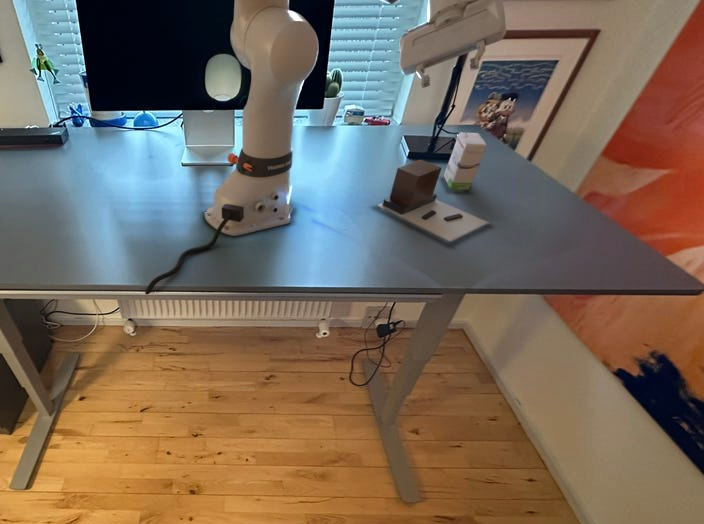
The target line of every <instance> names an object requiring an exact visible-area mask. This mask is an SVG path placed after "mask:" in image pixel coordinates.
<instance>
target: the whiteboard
mask: <svg viewBox="0 0 704 524" xmlns="http://www.w3.org/2000/svg"><path fill="white" fill-rule="evenodd" d="M376 206H377V207H379V208H381V209H382V210H385V211H387V212H388V213H391V214H393V215H395V216H397V217H399V218H401V219H403V220H404V221H407V222H408V223H411V224H413V225H415V226H416V227H419V228H421V229H423V230H425V231H427V232H429V233H431V234H434V235H435V236H437V237H439V238H442V239H444V240H445V241H447V242H449V243H451V242H454V241H455V240H457V239H460V238H461V237H463V236H466V235H468V234H470V233H472V232H474V231H475V230H478V229H480V228H482V227H484V226H486V225H488V224H490V222H489V221H488V220H485V219H483V218H481V217H478V216H476V215H473V214H471V213H469V212H467V211H465V210H462V209H460V208H458V207H455V206H453V205H451V204H448V203H446V202H444V201H442V200H440V199H437V198H436V200H435V201H433V202H431V203H429V204H426V205H424V206H422V207H419V208H417V209H415V210H412V211H410V212H407V213H405V214H403V215H401V214H399V213H397V212H395V211H393V210H391V209H389V208H387V207H385V206H383V202H381V203H378V204H376ZM431 210H433V211H436V214H435V215H433V216H431V217H430V218H428V219H427V220H424V219H422V216H423V215H425V214H427V213H428V212H430V211H431ZM455 214H461V215H463V217H462V218H459V219H455V220H451V221H446V220H444V217H448V216H451V215H455Z"/></svg>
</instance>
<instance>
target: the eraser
mask: <svg viewBox="0 0 704 524" xmlns="http://www.w3.org/2000/svg"><path fill="white" fill-rule="evenodd" d="M442 168H443V167H441V166H439V165H436V164H433V163H431V162H429V161H426V160H423V159H419V160H415V161H413V162H410V163H408V164H405V165H402V166H399V167H397V168H396V173H395V177H394V180H393V184H392V187H391V191H390V195H389V197H387V198H384V199H383V202H382V203H383V206H385V207H387V208H389V209H391V210H393V211H395V212H397V213H399V214H401V215H403V214H405V213H407V212H410V211H412V210H415V209H417V208H419V207H422V206H424V205H426V204H429V203H431V202H433V201H435V200H436V199H437V196H438V194H436V193H434V192H435V189H436V186H437V183H438V180H439V177H440V174H441V171H442Z"/></svg>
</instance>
